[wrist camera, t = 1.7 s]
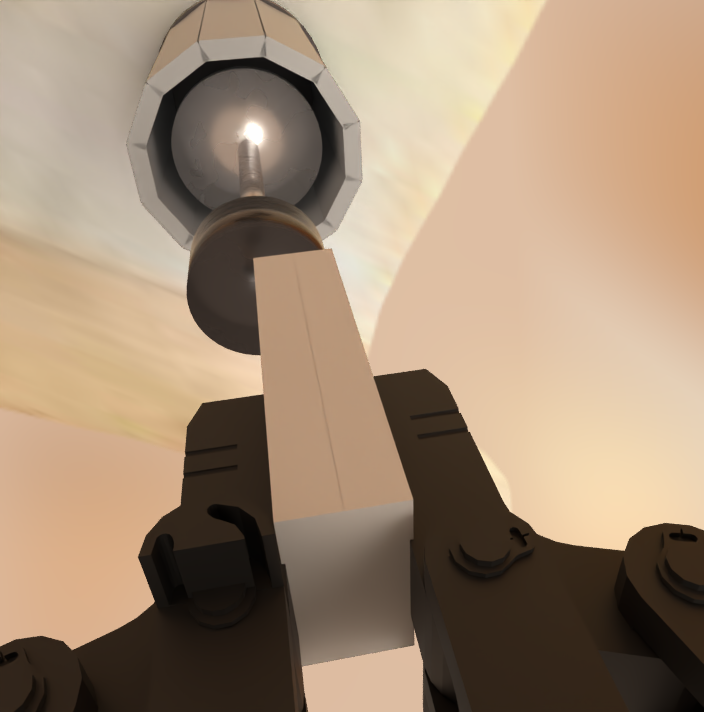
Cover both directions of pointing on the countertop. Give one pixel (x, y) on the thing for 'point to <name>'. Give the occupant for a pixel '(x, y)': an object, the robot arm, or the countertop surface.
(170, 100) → the press beaker
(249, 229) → the plunger
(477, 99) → the countertop surface
